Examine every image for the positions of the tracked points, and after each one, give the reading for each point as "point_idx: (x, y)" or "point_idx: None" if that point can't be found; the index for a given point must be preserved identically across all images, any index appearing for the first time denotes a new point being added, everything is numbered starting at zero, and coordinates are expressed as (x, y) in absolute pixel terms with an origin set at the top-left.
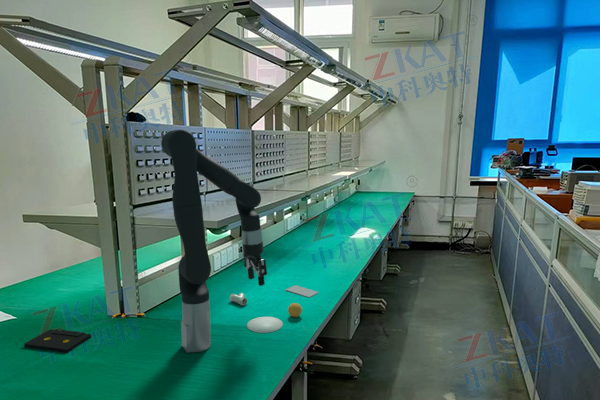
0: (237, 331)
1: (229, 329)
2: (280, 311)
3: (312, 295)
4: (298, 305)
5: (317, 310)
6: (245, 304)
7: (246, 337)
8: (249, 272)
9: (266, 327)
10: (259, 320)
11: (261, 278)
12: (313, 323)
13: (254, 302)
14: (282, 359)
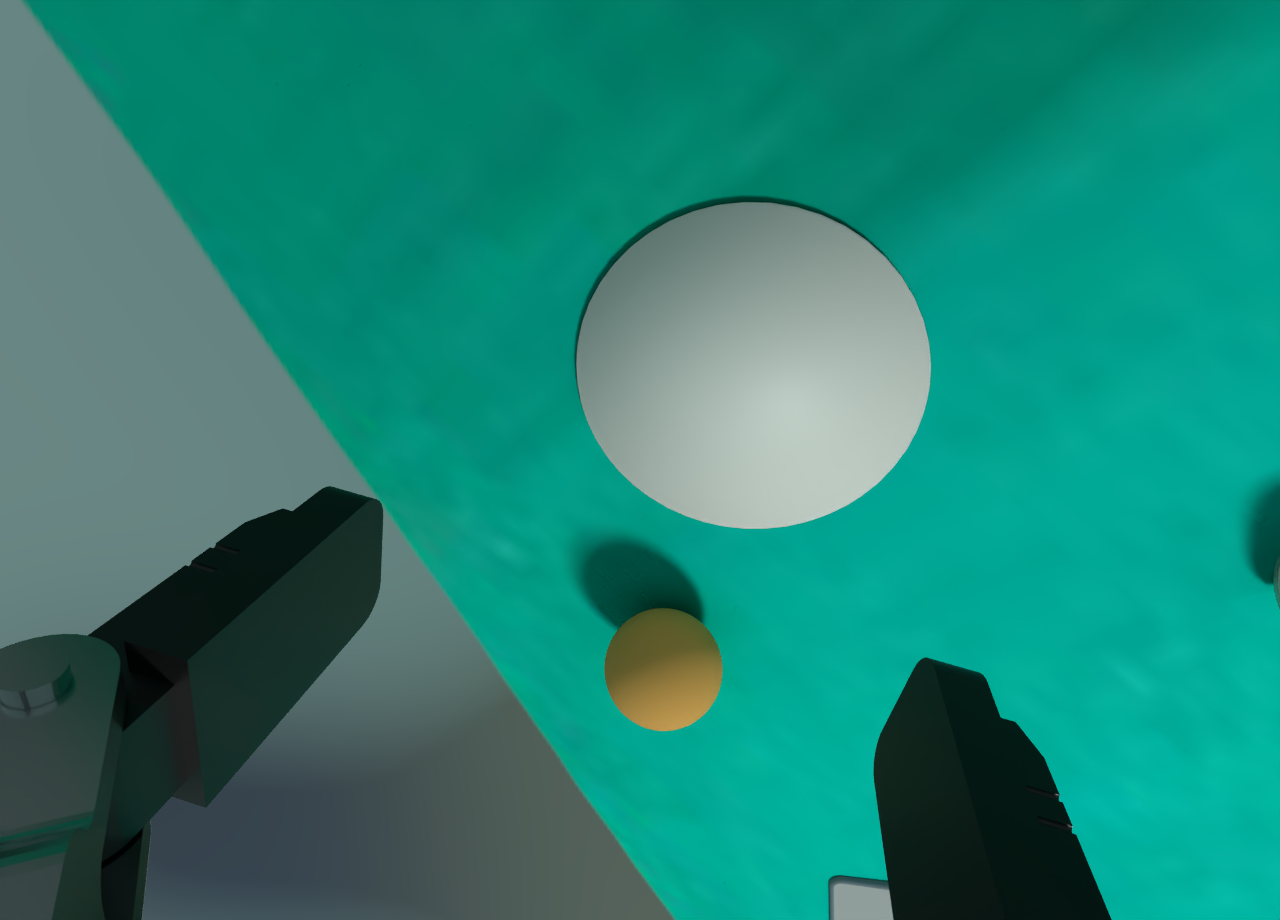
0: (859, 68)
1: (987, 21)
2: (836, 636)
3: (833, 904)
4: (621, 708)
5: (633, 760)
6: (1277, 575)
7: (665, 54)
8: (963, 856)
9: (680, 349)
10: (849, 407)
11: (126, 637)
12: (494, 613)
13: (1212, 654)
14: (126, 37)
